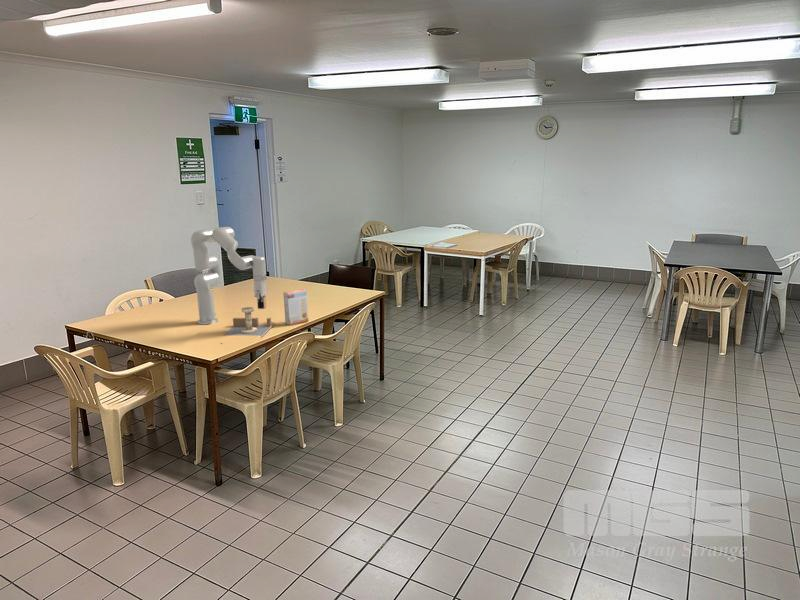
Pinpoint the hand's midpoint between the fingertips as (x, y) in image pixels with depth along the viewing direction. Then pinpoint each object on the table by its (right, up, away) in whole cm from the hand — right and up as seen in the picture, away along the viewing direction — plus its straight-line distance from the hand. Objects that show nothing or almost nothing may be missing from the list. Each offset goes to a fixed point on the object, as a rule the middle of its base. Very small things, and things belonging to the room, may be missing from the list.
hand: (262, 306), depth 326 cm
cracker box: (+17, -11, +19) cm, 28 cm away
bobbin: (-7, -14, -4) cm, 16 cm away
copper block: (0, -1, 0) cm, 1 cm away
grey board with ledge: (-8, -15, -1) cm, 17 cm away
